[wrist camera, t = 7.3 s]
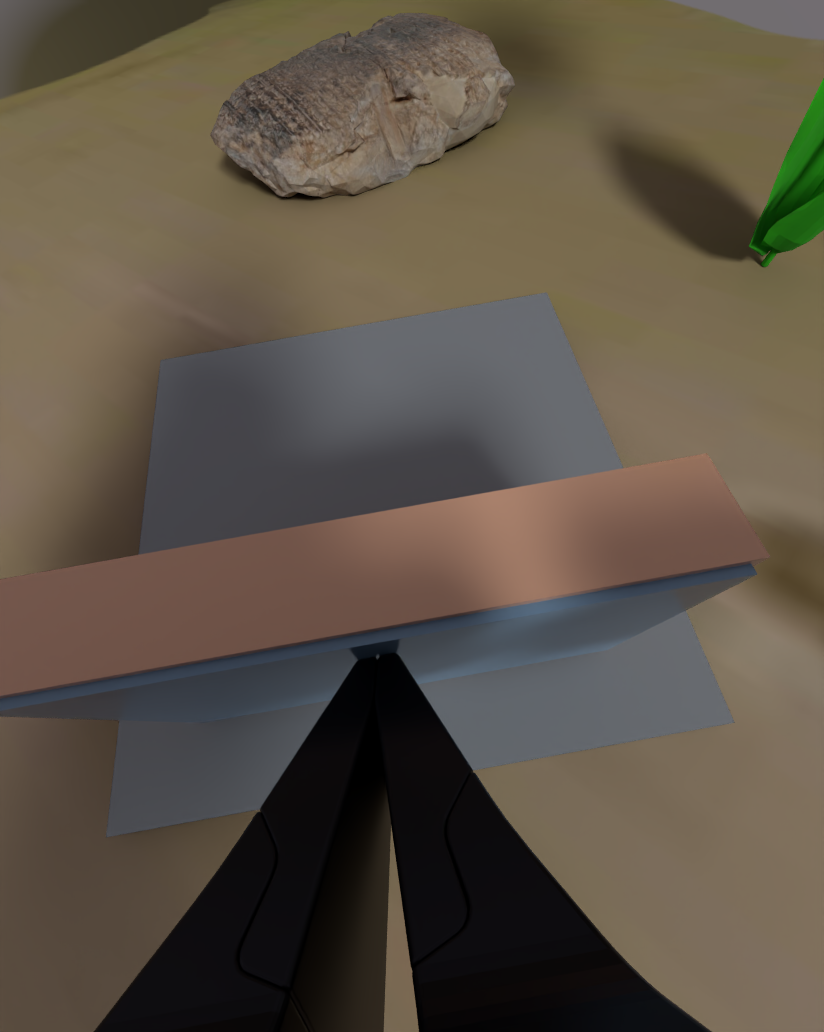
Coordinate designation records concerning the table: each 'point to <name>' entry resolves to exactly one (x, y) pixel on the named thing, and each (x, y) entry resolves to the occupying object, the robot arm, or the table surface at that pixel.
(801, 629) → the table surface
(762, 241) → the flower
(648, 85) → the table surface
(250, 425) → the mat
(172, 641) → the tile
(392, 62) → the clay tablet
